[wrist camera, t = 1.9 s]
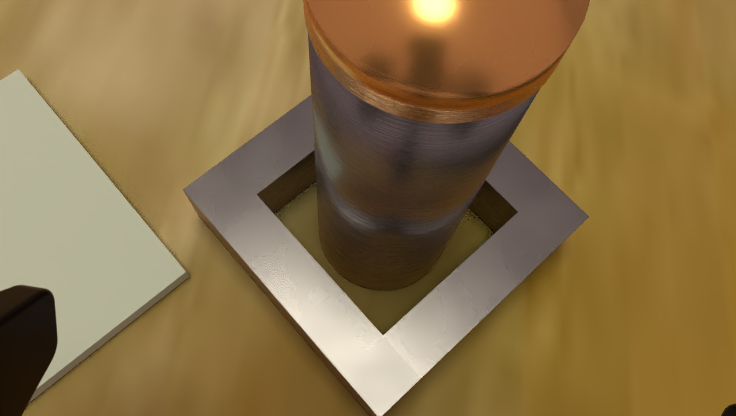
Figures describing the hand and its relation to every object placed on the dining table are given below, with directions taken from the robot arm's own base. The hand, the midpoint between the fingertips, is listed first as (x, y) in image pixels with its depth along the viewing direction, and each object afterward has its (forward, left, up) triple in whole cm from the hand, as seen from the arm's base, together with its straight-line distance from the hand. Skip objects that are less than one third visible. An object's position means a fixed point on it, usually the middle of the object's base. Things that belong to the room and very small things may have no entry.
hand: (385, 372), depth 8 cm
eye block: (+4, -5, -12) cm, 14 cm away
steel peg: (+4, -5, -12) cm, 14 cm away
